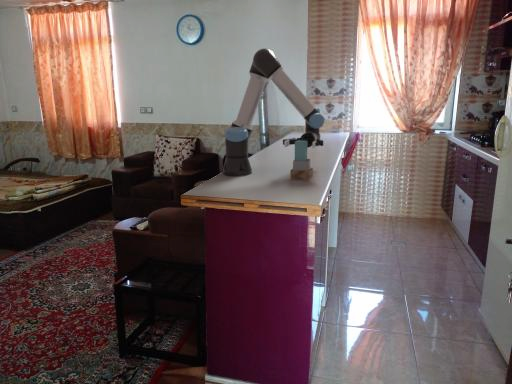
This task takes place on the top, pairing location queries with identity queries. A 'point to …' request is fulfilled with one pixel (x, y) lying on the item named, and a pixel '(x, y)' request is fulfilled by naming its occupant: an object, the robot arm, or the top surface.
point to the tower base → (301, 174)
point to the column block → (301, 150)
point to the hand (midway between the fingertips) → (299, 144)
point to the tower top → (301, 165)
